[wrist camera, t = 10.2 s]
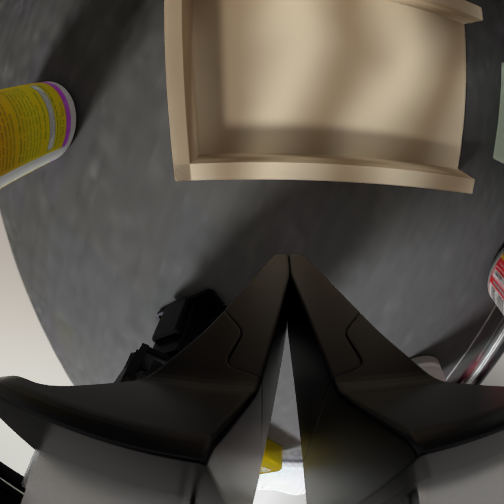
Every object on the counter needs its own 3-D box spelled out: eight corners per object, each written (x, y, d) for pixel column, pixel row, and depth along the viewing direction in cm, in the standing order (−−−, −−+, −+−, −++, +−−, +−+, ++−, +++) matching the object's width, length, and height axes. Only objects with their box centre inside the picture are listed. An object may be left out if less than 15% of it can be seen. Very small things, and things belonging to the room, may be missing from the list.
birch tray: (188, 167, 20) (175, 181, 17) (180, -13, 13) (164, -26, 11) (451, 179, 18) (472, 193, 16) (459, 13, 12) (481, 7, 9)
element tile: (157, 426, 41) (150, 451, 37) (227, 410, 36) (222, 441, 32) (218, 459, 47) (215, 481, 43) (287, 447, 41) (286, 472, 37)
